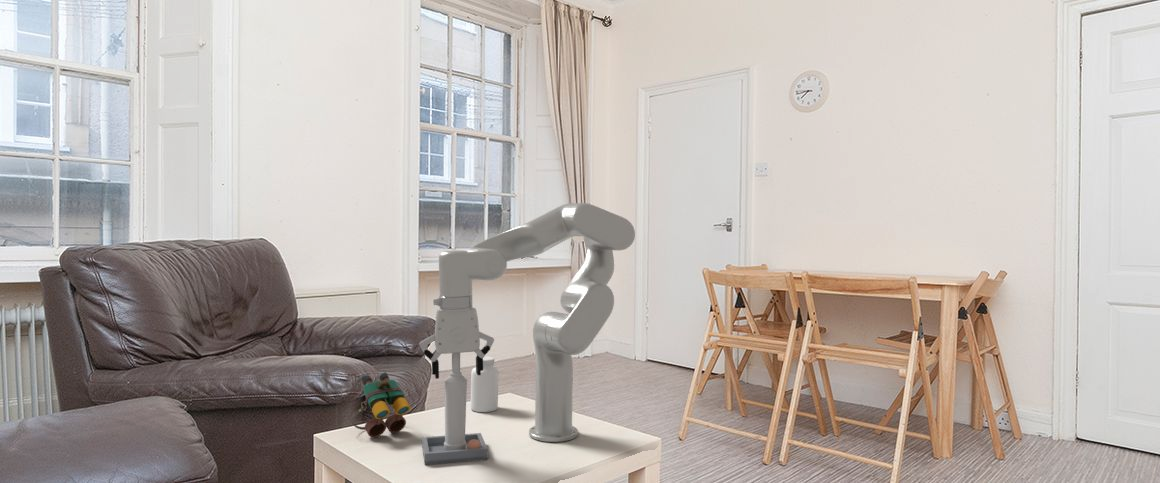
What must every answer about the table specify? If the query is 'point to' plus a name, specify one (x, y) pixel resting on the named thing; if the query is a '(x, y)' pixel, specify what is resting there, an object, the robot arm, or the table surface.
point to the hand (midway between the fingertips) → (457, 375)
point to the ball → (473, 444)
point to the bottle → (455, 407)
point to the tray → (438, 455)
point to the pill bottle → (485, 387)
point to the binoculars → (383, 405)
